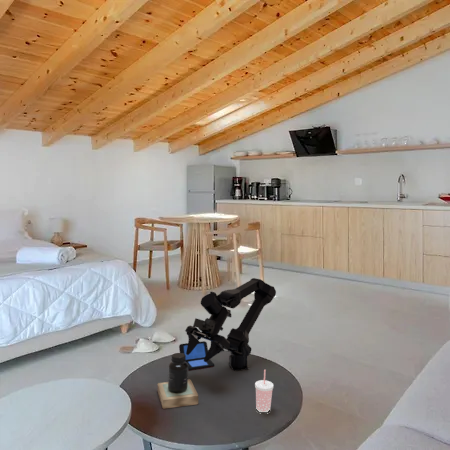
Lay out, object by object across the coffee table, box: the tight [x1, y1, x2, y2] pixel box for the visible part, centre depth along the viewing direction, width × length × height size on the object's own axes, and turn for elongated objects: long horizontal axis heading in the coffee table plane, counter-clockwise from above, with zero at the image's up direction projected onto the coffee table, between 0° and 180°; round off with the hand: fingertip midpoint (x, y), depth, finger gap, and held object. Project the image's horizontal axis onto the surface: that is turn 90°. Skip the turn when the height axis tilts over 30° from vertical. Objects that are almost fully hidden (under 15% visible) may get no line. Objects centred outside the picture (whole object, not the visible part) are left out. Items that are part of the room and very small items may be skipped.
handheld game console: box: [178, 340, 215, 372], centre depth 171 cm, size 12×11×7 cm
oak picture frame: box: [157, 379, 199, 410], centre depth 143 cm, size 12×12×3 cm
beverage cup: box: [254, 369, 274, 412], centre depth 136 cm, size 6×6×14 cm
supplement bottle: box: [167, 352, 189, 393], centre depth 143 cm, size 7×7×12 cm
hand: (195, 358), depth 149 cm, fingers open, 9 cm apart
